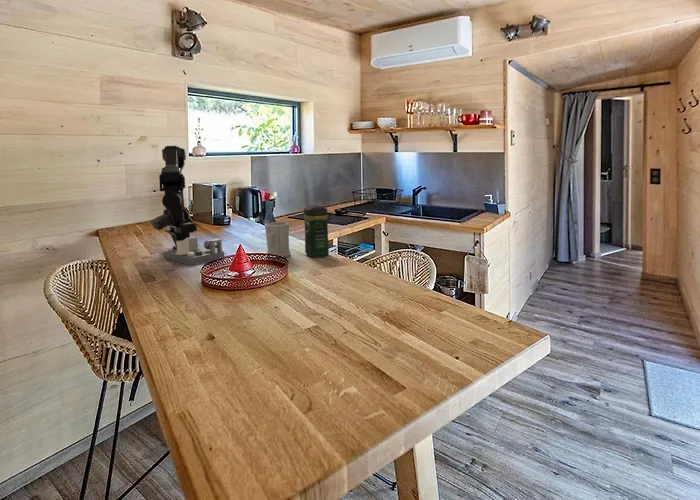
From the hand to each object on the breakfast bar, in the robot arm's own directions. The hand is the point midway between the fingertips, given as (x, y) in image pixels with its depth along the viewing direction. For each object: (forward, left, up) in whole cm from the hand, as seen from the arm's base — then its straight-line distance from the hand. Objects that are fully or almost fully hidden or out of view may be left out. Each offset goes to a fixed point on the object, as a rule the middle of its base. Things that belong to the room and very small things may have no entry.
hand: (178, 249), depth 170 cm
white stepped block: (+1, +5, -1) cm, 5 cm away
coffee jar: (+35, +36, -4) cm, 50 cm away
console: (+2, +5, -4) cm, 7 cm away
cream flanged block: (+3, 0, -1) cm, 3 cm away
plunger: (+7, +9, -1) cm, 12 cm away
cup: (+25, +26, -4) cm, 36 cm away
